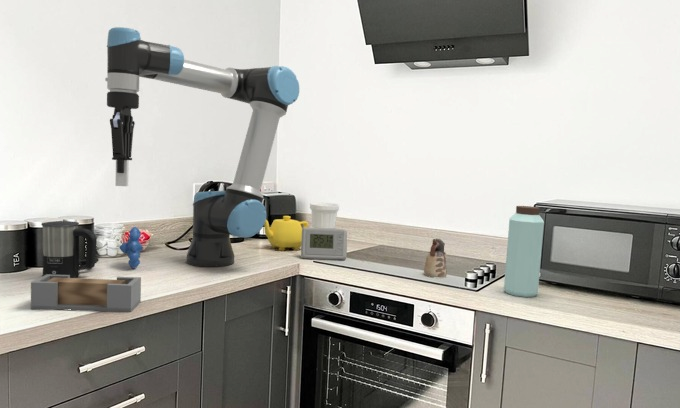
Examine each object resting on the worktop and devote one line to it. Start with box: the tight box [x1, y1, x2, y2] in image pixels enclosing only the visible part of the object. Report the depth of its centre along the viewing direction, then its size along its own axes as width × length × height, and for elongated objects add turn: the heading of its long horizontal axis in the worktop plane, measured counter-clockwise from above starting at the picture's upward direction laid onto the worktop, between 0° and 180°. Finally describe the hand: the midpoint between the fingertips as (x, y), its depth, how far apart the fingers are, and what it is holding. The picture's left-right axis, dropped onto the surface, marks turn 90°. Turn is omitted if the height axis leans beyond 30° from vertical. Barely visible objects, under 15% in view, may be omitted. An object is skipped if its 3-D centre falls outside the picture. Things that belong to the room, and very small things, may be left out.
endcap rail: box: [30, 274, 142, 313], centre depth 129 cm, size 21×8×6 cm, turn 95°
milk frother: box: [40, 220, 100, 278], centre depth 158 cm, size 14×16×15 cm
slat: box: [46, 277, 125, 306], centre depth 129 cm, size 16×4×5 cm, turn 93°
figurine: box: [423, 238, 448, 278], centre depth 181 cm, size 7×7×12 cm
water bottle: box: [503, 205, 545, 298], centre depth 162 cm, size 10×10×25 cm
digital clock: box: [300, 227, 348, 261], centre depth 199 cm, size 16×9×11 cm, turn 84°
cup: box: [309, 202, 340, 229], centre depth 238 cm, size 12×12×15 cm
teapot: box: [264, 215, 309, 252], centre depth 214 cm, size 13×20×12 cm
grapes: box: [119, 226, 144, 269], centre depth 170 cm, size 12×7×12 cm, turn 19°
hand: (121, 185), depth 144 cm, fingers closed
